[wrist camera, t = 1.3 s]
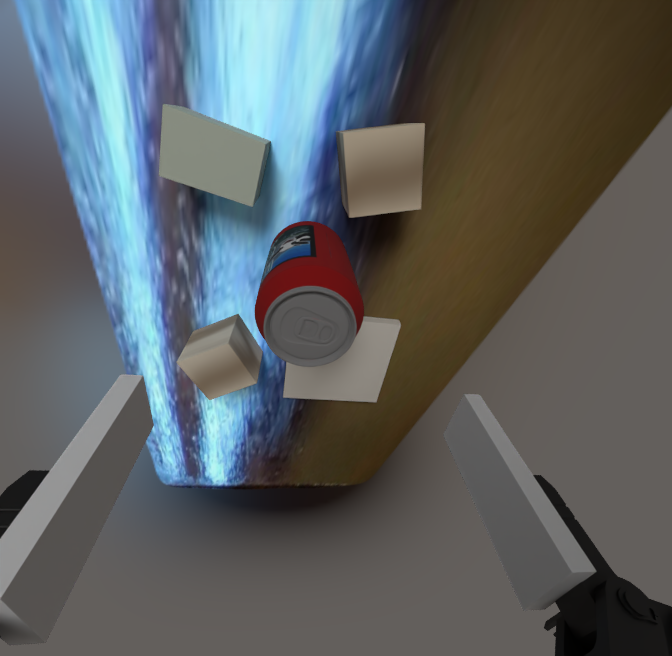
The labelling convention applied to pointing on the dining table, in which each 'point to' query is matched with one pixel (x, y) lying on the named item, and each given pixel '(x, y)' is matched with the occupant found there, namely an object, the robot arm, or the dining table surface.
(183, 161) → the sage block
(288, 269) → the beverage can
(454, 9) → the dining table surface
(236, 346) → the maple block
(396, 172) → the beech block
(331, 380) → the plate
